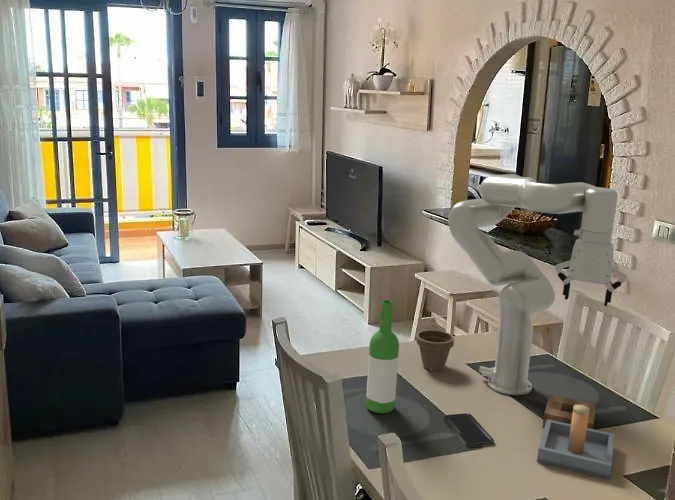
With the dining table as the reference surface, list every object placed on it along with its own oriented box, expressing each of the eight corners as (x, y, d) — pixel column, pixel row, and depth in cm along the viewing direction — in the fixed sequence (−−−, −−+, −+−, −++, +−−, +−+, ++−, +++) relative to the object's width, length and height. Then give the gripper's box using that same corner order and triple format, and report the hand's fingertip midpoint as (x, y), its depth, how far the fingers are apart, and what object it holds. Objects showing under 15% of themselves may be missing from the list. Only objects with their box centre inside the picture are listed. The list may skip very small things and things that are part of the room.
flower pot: (406, 363, 214) (408, 333, 212) (432, 356, 221) (435, 326, 218) (432, 377, 205) (435, 345, 203) (459, 369, 212) (462, 338, 209)
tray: (536, 461, 161) (538, 448, 161) (545, 431, 176) (547, 419, 175) (609, 479, 155) (611, 465, 155) (612, 446, 170) (614, 433, 169)
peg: (567, 451, 164) (573, 409, 162) (568, 444, 168) (574, 403, 165) (583, 455, 163) (589, 412, 161) (583, 448, 166) (589, 406, 164)
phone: (469, 413, 182) (495, 441, 168) (469, 416, 183) (495, 445, 168) (442, 415, 180) (465, 444, 166) (441, 419, 181) (465, 448, 167)
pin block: (542, 427, 178) (544, 413, 177) (548, 408, 189) (549, 394, 188) (591, 438, 173) (593, 423, 172) (594, 418, 184) (596, 404, 183)
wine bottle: (373, 398, 189) (379, 295, 182) (399, 406, 186) (407, 300, 179) (360, 409, 183) (367, 302, 175) (387, 417, 179) (394, 308, 172)
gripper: (558, 235, 173) (549, 299, 177) (632, 245, 167) (621, 311, 171) (561, 229, 180) (553, 292, 184) (632, 238, 173) (622, 303, 177)
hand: (585, 301), depth 177 cm, fingers open, 9 cm apart
